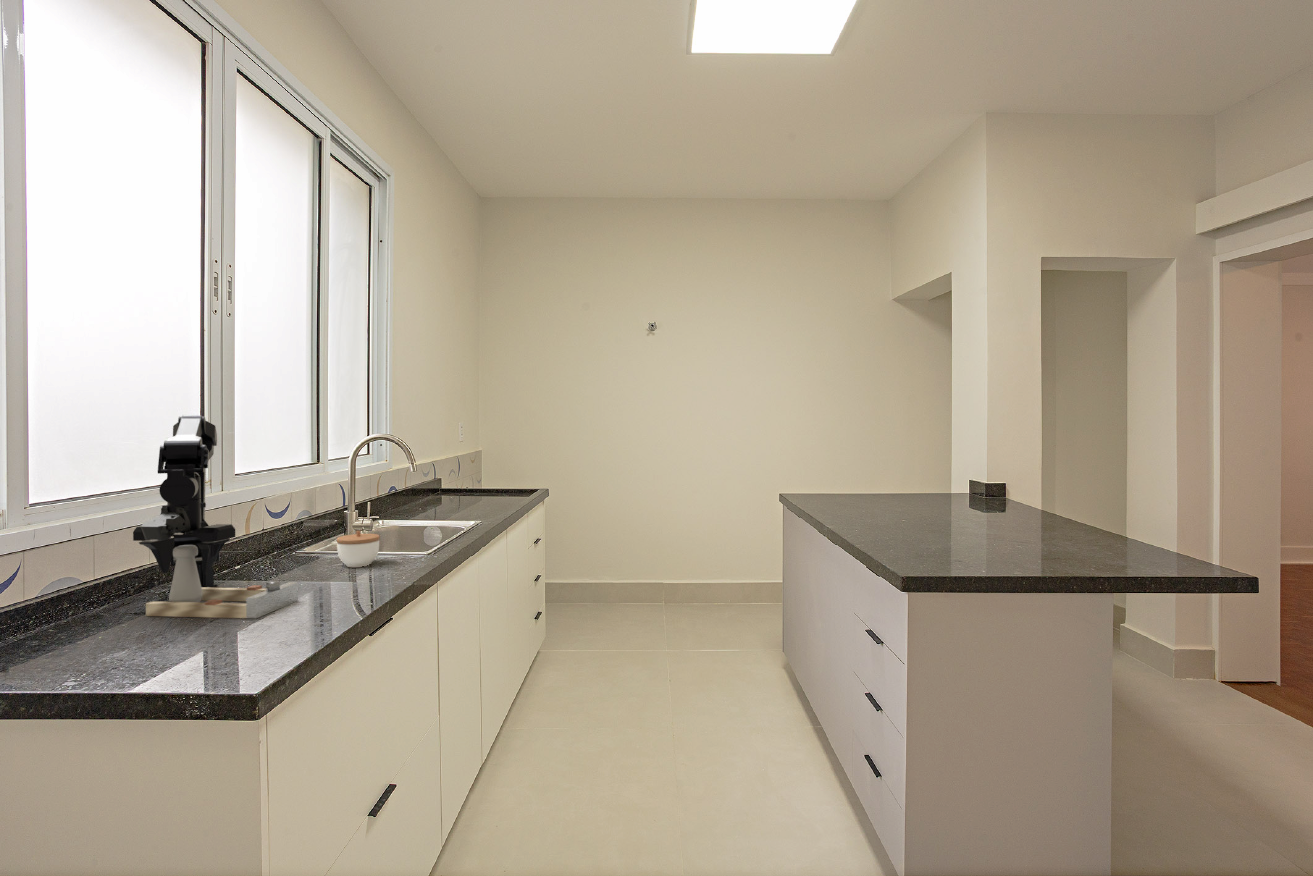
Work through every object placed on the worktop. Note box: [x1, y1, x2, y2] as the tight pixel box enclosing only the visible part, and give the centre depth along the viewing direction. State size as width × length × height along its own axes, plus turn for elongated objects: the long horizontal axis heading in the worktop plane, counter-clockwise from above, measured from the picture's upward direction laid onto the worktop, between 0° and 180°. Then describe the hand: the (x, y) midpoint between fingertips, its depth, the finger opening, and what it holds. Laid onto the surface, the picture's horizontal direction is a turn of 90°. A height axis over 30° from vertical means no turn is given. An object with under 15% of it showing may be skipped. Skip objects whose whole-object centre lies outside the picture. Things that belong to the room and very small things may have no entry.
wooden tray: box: [145, 580, 299, 619], centre depth 135 cm, size 24×14×6 cm, turn 85°
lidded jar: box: [336, 530, 381, 568], centre depth 176 cm, size 11×11×9 cm
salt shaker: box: [168, 545, 203, 602], centre depth 135 cm, size 6×6×13 cm
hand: (185, 573), depth 135 cm, fingers open, 9 cm apart
